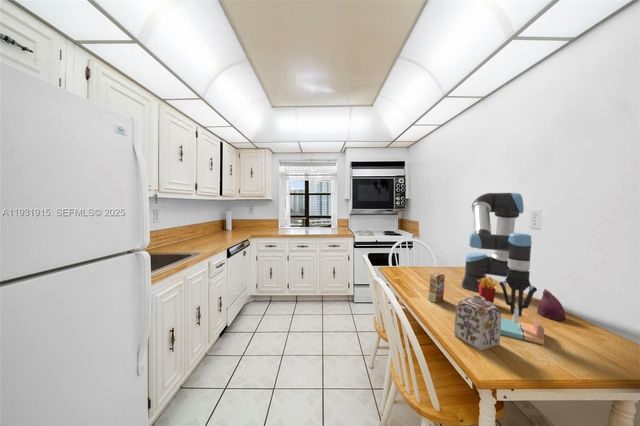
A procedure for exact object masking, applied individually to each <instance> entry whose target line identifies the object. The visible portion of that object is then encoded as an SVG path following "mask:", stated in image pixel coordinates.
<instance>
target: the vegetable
mask: <svg viewBox="0 0 640 426" xmlns="http://www.w3.org/2000/svg"><path fill="white" fill-rule="evenodd" d="M542 291H543V292H542V297H541V299H540V301H539V302H538V304H537V310H536V314H538V315H539V316H541V317H542V318H544V319H545V318H546V319H549V320H552V321H558V322H563V321H566V312H565V309H564V306H563V304H562V303H561V302H560V301H559V299H558V298H557V297H556V296H555V295H554V294H552V293H551V292H550V291H549V290H548V289H546V288H544V289H543V290H542Z"/></svg>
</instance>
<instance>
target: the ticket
mask: <svg viewBox="0 0 640 426" xmlns="http://www.w3.org/2000/svg"><path fill="white" fill-rule="evenodd" d="M500 335H502V336H507V337H511V338H515V339H517V340H523V341H524V337H523V333H522V330H521V327H520V322H519V321H518V323H514V322H513V319H510V318H504V317H501V331H500Z"/></svg>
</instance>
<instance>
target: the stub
mask: <svg viewBox="0 0 640 426" xmlns="http://www.w3.org/2000/svg"><path fill="white" fill-rule="evenodd" d="M532 319H533V321H532V324H531V323H528V322H527V323H526V322H523V321H520V322H519V324H520V327H521V330H522V333H523V341H527V342H532V343H536V344H540V345H545V338H544V337H545V328H544V326H543V325H542V322H541V321H540V318H539V317H535V316H533V318H532Z"/></svg>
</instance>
